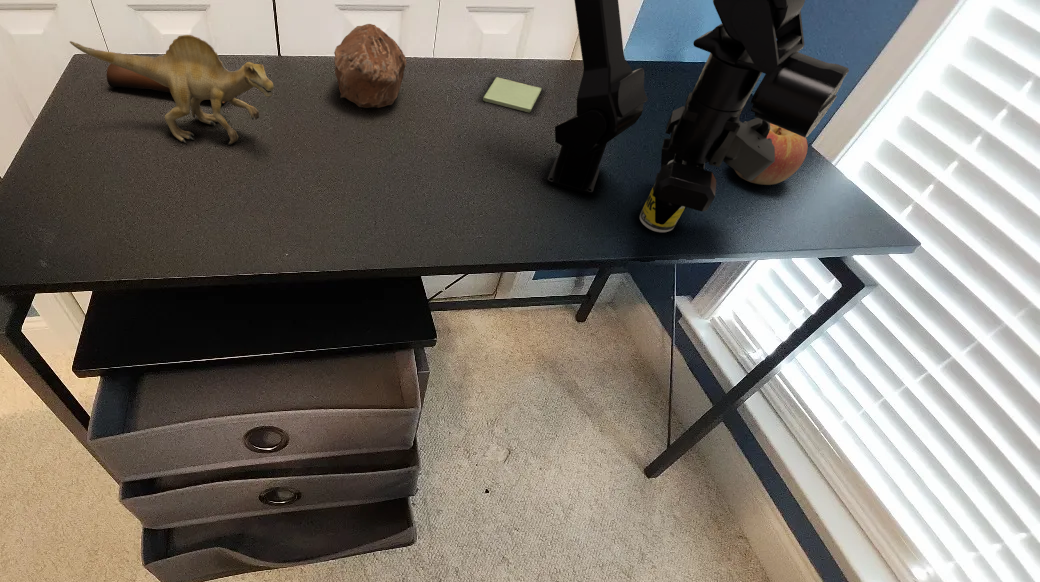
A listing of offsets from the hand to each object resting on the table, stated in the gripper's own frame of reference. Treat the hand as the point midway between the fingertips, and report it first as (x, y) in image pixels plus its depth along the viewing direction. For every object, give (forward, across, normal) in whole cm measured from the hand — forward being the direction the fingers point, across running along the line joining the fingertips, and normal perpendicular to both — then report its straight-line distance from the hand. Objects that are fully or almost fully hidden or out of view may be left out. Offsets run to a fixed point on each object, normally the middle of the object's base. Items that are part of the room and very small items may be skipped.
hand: (661, 212), depth 79 cm
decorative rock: (+2, +12, +48) cm, 49 cm away
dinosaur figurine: (+2, -9, +66) cm, 66 cm away
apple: (+2, +18, -12) cm, 22 cm away
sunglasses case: (+2, 0, +76) cm, 76 cm away
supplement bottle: (+2, 0, 0) cm, 2 cm away
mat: (+2, +24, +26) cm, 36 cm away
